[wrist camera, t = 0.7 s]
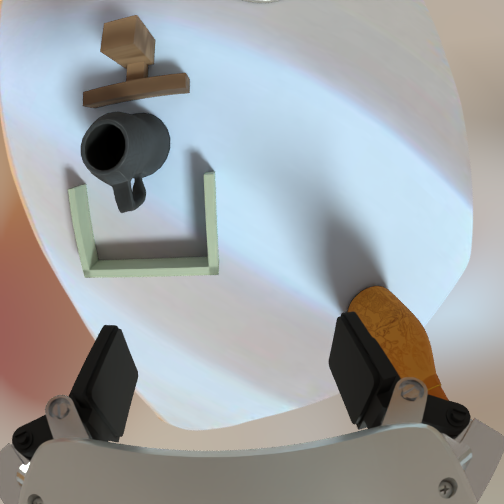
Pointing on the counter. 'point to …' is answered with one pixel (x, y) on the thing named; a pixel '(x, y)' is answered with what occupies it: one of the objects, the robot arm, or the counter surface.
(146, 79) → the wooden cross block
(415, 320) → the wine bottle
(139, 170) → the mug
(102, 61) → the counter surface
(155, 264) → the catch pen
